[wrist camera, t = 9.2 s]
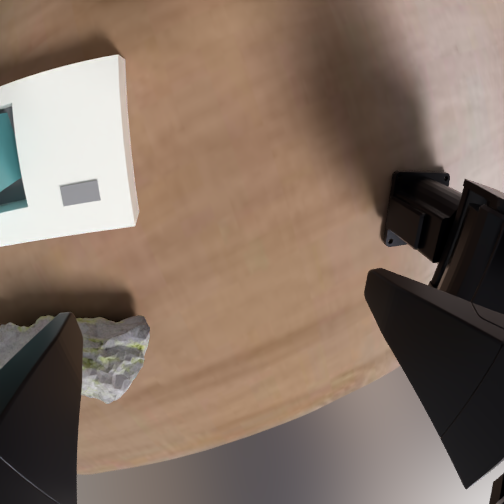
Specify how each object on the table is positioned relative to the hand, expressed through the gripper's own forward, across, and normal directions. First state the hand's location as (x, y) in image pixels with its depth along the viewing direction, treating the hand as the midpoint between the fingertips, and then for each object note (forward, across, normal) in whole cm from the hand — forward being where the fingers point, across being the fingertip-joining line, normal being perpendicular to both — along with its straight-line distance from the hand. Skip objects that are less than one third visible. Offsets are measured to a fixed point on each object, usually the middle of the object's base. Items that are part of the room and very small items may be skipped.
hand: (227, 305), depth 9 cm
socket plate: (+13, +11, -4) cm, 17 cm away
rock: (+14, +12, +12) cm, 21 cm away
